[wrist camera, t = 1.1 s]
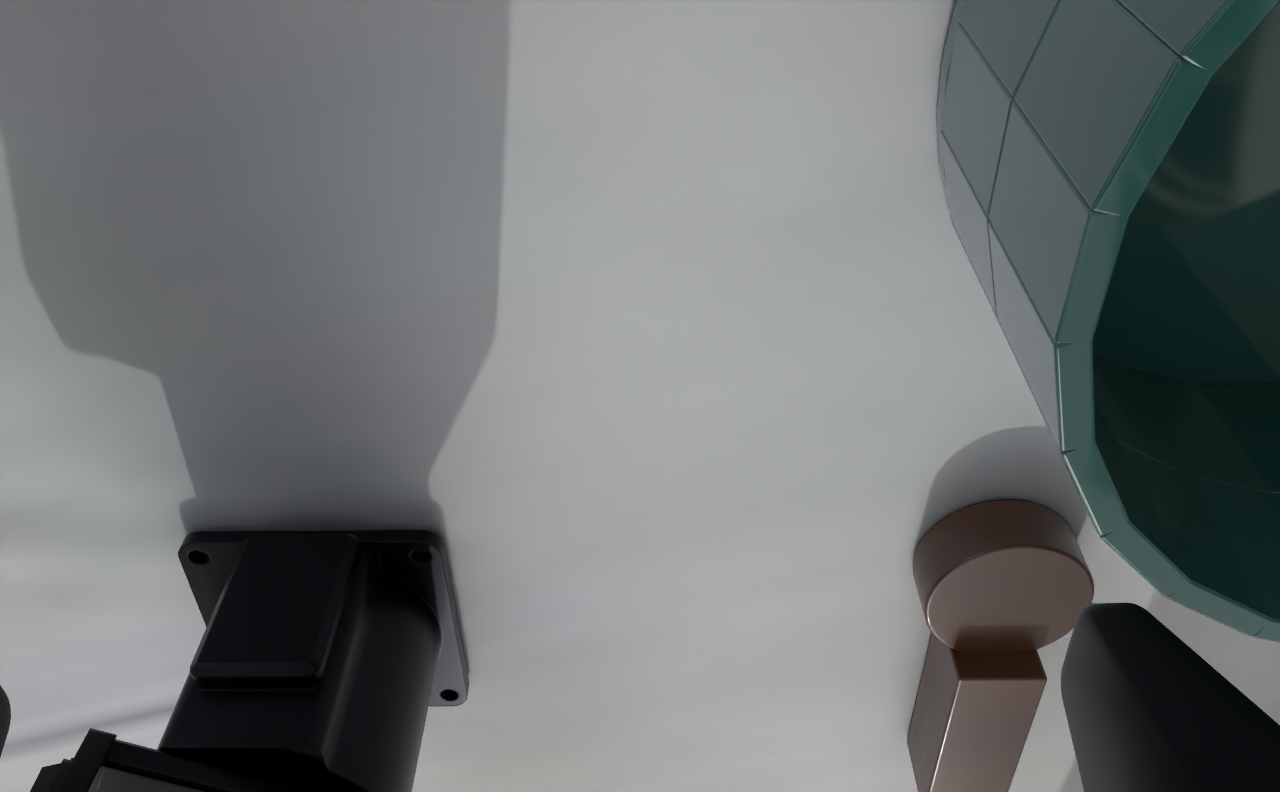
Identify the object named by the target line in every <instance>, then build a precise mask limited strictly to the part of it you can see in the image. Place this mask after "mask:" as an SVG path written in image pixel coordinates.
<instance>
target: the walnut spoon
mask: <svg viewBox="0 0 1280 792" xmlns="http://www.w3.org/2000/svg"><path fill="white" fill-rule="evenodd" d="M913 575H914V578H915V582H916V586H917V590H918V593H919V597H920V601H921V605H922V608H923V612H924V616H925V620H926V623H927V625H928V627H929V629H930V630H931V632H932V635H931V639H930V644H929V648H928V652H927V656H926V661H925V665H924V669H923V674H922V678H921V682H920V687H919V691H918V695H917V699H916V704H915V708H914V712H913V717H912V721H911V725H910V730H909V734H908V738H907V744H908V748H909V753H910V757H911V762H912V766H913V771H914V775H915V780H916V784H917V789H918V792H1008V791H1009V788H1010V785H1011V782H1012V779H1013V776H1014V774H1015V771H1016V768H1017V765H1018V762H1019V759H1020V756H1021V753H1022V751H1023V748H1024V745H1025V742H1026V739H1027V736H1028V733H1029V730H1030V727H1031V725H1032V722H1033V719H1034V716H1035V713H1036V710H1037V707H1038V704H1039V702H1040V699H1041V696H1042V693H1043V690H1044V687H1045V684H1046V681H1047V677H1046V674H1045V671H1044V668H1043V666H1042V663H1041V660H1040V657H1039V655H1038V652H1037V649H1039V648H1041V647H1044V646H1046V645H1048V644H1050V643H1052V642H1054V641H1056V640H1058V639H1060V638H1061V637H1063V636H1064V635H1066V634H1067V633H1068V632H1070V631H1071V630H1072V629H1073V628H1074V627H1075V623H1076V620H1077V617H1078V615H1079V613H1080V611H1081V610H1082V609H1083V608H1084V607H1085V606H1086V605H1089V604H1092V600H1093V595H1094V583H1093V578H1092V575H1091V573H1090V571H1089V568H1088V566H1087V564H1086V562H1085V559H1084V557H1083V555H1082V553H1081V550H1080V548H1079V546H1078V544H1077V541H1076V539H1075V537H1074V535H1073V532H1072V530H1071V528H1070V527H1069V525H1068V524H1067V523H1066V522H1065V520H1064V519H1063V518H1062V517H1060V516H1059V515H1058V514H1056V513H1055V512H1054V511H1052V510H1050V509H1048V508H1046V507H1044V506H1041V505H1039V504H1035V503H1031V502H1026V501H1020V500H997V501H990V502H984V503H980V504H976V505H973V506H970V507H967V508H964V509H962V510H960V511H957V512H955V513H953V514H951V515H950V516H948V517H946V518H945V519H943V520H942V521H940V522H939V523H937V524H936V525H935V526H934V527H933V528H932V529H931V530H930V531H929V532H928V533H927V534H926V535H925V536H924V538H923V539H922V541H921V542H920V544H919V546H918V548H917V550H916V553H915V556H914V559H913Z"/></svg>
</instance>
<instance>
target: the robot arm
mask: <svg viewBox="0 0 1280 792" xmlns="http://www.w3.org/2000/svg"><path fill="white" fill-rule="evenodd" d="M418 549H424V550H427V552H424V551H420V550H418ZM200 551H203V552H200ZM178 555H179V559H180V562H181V564H182V567H183V569H184V572H185V574H186V577H187V579H188V582H189V584H190V587H191V589H192V592H193V594H194V597H195V599H196V602H197V604H198V607H199V609H200V612H201V614H202V617H203V619H204V622H205V624H206V627H207V628H206V630H205V633H204V635H203V638H202V640H201V642H200V645H199V647H198V649H197V652H196V654H195V656H194V659H193V661H192V664H191V666H190V673H189V675H188V678H187V680H186V682H185V685H184V687H183V689H182V692H181V694H180V697H179V699H178V701H177V704H176V706H175V708H174V711H173V713H172V716H171V718H170V720H169V723H168V725H167V727H166V730H165V732H164V735H163V737H162V739H161V742H160V744H159V746H158V749H157V750H155V749H151V748H147V747H143V746H139V745H136V744H132V743H128V742H124V741H120V740H116V737H117V735H115V734H111V733H108V732H104V731H100V730H96V729H92V728H90V730H89V732H88V733H87V735H86V737H85V739H84V741H83V742H82V744H81V746H80V748H79V750H78V752H77V753H76V755H75V757H74V758H71V760H67V759H63V761H62V762H61V763H60V764H55V765H51V766H46V767H42V769H41V771H40V773H39V775H38V777H37V779H36V781H35V783H34V785H33V787H32V789H31V791H30V792H412V787H413V782H414V777H415V772H416V767H417V761H418V756H419V751H420V746H421V741H422V736H423V731H424V726H425V721H426V716H427V710H428V706H457V705H460V704H462V703H464V702H465V701H466V700H467V695H468V689H469V679H468V673H467V668H466V662H465V657H464V651H463V646H462V640H461V635H460V629H459V623H458V618H457V612H456V607H455V601H454V596H453V590H452V585H451V579H450V574H449V568H448V563H447V557H446V552H445V546H444V543H443V541H442V539H441V538H440V537H439V536H438V535H437V534H435V533H432V532H430V531H424V530H355V531H199V532H192V533H190V534H188V535H187V536H186V537H185V539H184V541H183V543H182V545H181V547H180V549H179V551H178ZM1061 691H1062V698H1063V703H1064V707H1065V712H1066V716H1067V720H1068V724H1069V729H1070V733H1071V737H1072V741H1073V746H1074V750H1075V754H1076V758H1077V763H1078V767H1079V771H1080V775H1081V780H1082V784H1083V788H1084V792H1280V725H1279V724H1277V723H1276V722H1275V721H1274V720H1273V719H1272V718H1271V717H1269V716H1268V715H1267V714H1266V713H1265V712H1264V711H1262V710H1261V709H1260V708H1259V707H1258V706H1257V705H1255V704H1254V703H1253V702H1252V701H1251V700H1250V699H1249V698H1247V697H1246V696H1245V695H1244V694H1243V693H1242V692H1240V691H1239V690H1238V689H1237V688H1236V687H1235V686H1234V685H1232V684H1231V683H1230V682H1229V681H1228V680H1227V679H1225V678H1224V677H1223V676H1222V675H1221V674H1220V673H1218V672H1217V671H1216V670H1215V669H1214V668H1213V667H1212V666H1210V665H1209V664H1208V663H1207V662H1206V661H1205V660H1203V659H1202V658H1201V657H1200V656H1199V655H1198V654H1196V653H1195V652H1194V651H1193V650H1192V649H1191V648H1190V647H1188V646H1187V645H1186V644H1185V643H1184V642H1183V641H1181V640H1180V639H1179V638H1178V637H1177V636H1176V635H1175V634H1173V633H1172V632H1171V631H1170V630H1169V629H1168V628H1166V627H1165V626H1164V625H1163V624H1162V623H1161V622H1159V621H1158V620H1157V619H1156V618H1155V617H1154V616H1153V615H1151V614H1150V613H1149V612H1148V611H1147V610H1145V609H1144V608H1142V607H1140V606H1138V605H1136V604H1133V603H1102V604H1089V605H1086V606H1085V607H1084V608H1083V609H1082V610H1081V611H1080V613H1079V615H1078V617H1077V620H1076V623H1075V627H1074V630H1073V633H1072V637H1071V640H1070V643H1069V647H1068V650H1067V653H1066V656H1065V660H1064V663H1063V667H1062V671H1061ZM10 719H11V710H10V703H9V699H8V697H7V695H6V693H5V692H4V690H3V689H2V687H1V685H0V757H1V753H2V750H3V747H4V744H5V740H6V737H7V734H8V731H9V726H10Z"/></svg>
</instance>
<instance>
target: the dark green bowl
mask: <svg viewBox="0 0 1280 792" xmlns="http://www.w3.org/2000/svg"><path fill="white" fill-rule="evenodd" d="M936 121H937V142H938V163H939V168H940V173H941V178H942V183H943V188H944V193H945V198H946V203H947V206H948V209H949V212H950V218H951V220H952V225H953V227H954V229H955V231H956V233H957V235H958V237H959V240H960V242H961V244H962V246H963V248H964V250H965V252H966V254H967V257H968V259H969V261H970V263H971V265H972V267H973V269H974V271H975V274H976V276H977V278H978V280H979V282H980V284H981V286H982V288H983V291H984V293H985V295H986V297H987V299H988V301H989V303H990V306H991V308H992V310H993V312H994V314H995V316H996V318H997V320H998V323H999V325H1000V327H1001V329H1002V331H1003V333H1004V335H1005V337H1006V340H1007V342H1008V344H1009V346H1010V348H1011V350H1012V352H1013V354H1014V357H1015V359H1016V361H1017V363H1018V365H1019V367H1020V369H1021V371H1022V374H1023V376H1024V378H1025V380H1026V382H1027V384H1028V386H1029V389H1030V391H1031V393H1032V395H1033V397H1034V399H1035V401H1036V403H1037V406H1038V408H1039V410H1040V412H1041V414H1042V416H1043V418H1044V420H1045V423H1046V425H1047V427H1048V429H1049V431H1050V433H1051V435H1052V437H1053V440H1054V442H1055V444H1056V446H1057V448H1058V450H1059V452H1060V454H1061V457H1062V459H1063V461H1064V463H1065V465H1066V467H1067V469H1068V472H1069V474H1070V476H1071V478H1072V480H1073V482H1074V484H1075V486H1076V489H1077V491H1078V493H1079V495H1080V497H1081V499H1082V501H1083V503H1084V506H1085V508H1086V510H1087V512H1088V514H1089V516H1090V518H1091V520H1092V523H1093V525H1094V527H1095V529H1096V531H1097V533H1098V534H1099V535H1100V537H1101V538H1102V539H1103V540H1104V541H1105V542H1106V543H1107V544H1108V545H1109V546H1110V547H1111V548H1112V549H1113V550H1114V551H1116V552H1117V553H1118V554H1119V555H1120V556H1121V557H1122V558H1123V559H1124V560H1125V561H1126V562H1127V563H1128V564H1130V565H1131V566H1132V567H1133V568H1134V569H1135V570H1136V571H1137V572H1138V573H1139V574H1140V575H1141V576H1142V577H1143V578H1145V579H1146V580H1147V581H1148V582H1149V583H1150V584H1151V585H1152V586H1153V587H1154V588H1155V589H1156V590H1157V591H1159V592H1160V593H1161V594H1162V595H1163V596H1165V597H1167V598H1168V599H1170V600H1172V601H1174V602H1176V603H1178V604H1181V605H1183V606H1185V607H1187V608H1189V609H1191V610H1194V611H1196V612H1198V613H1200V614H1202V615H1205V616H1207V617H1209V618H1211V619H1213V620H1215V621H1218V622H1220V623H1222V624H1224V625H1226V626H1229V627H1231V628H1233V629H1235V630H1237V631H1239V632H1242V633H1244V634H1246V635H1248V636H1253V637H1255V638H1259V639H1264V640H1269V641H1275V642H1280V0H957V2H956V5H955V7H954V10H953V14H952V19H951V23H950V27H949V32H948V36H947V41H946V45H945V49H944V54H943V58H942V63H941V70H940V81H939V91H938V102H937V113H936Z"/></svg>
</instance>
